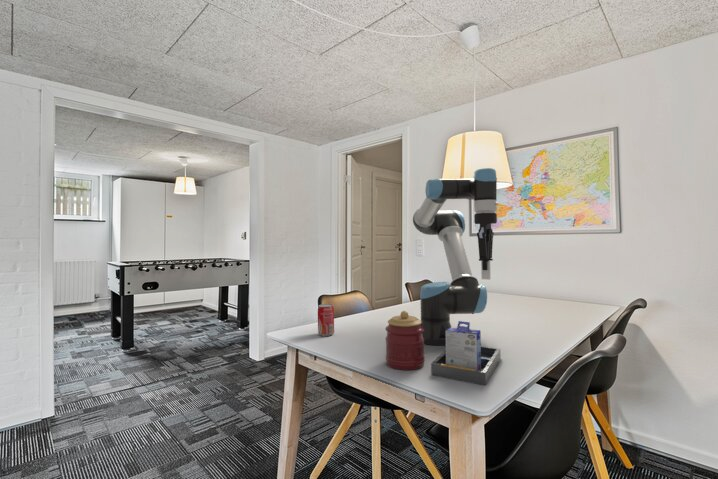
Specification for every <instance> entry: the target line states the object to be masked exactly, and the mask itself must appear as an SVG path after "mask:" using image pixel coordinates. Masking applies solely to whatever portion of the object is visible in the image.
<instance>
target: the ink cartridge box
mask: <svg viewBox="0 0 718 479" xmlns="http://www.w3.org/2000/svg"><path fill="white" fill-rule="evenodd" d="M457 322H458V323H457V327H452V328H449V329H447V330H446V345H445V350H446V365H452V366H458V367H464V368H470V369H475V370H478V371H480V370H481V346H482V345H481V344H482V340H481V338H482V336H481V330H480V329H472V328H471V329H470V326H471V322H470V321H469V322H468V321H461V320H458V321H457ZM463 325H466V326H463Z"/></svg>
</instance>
